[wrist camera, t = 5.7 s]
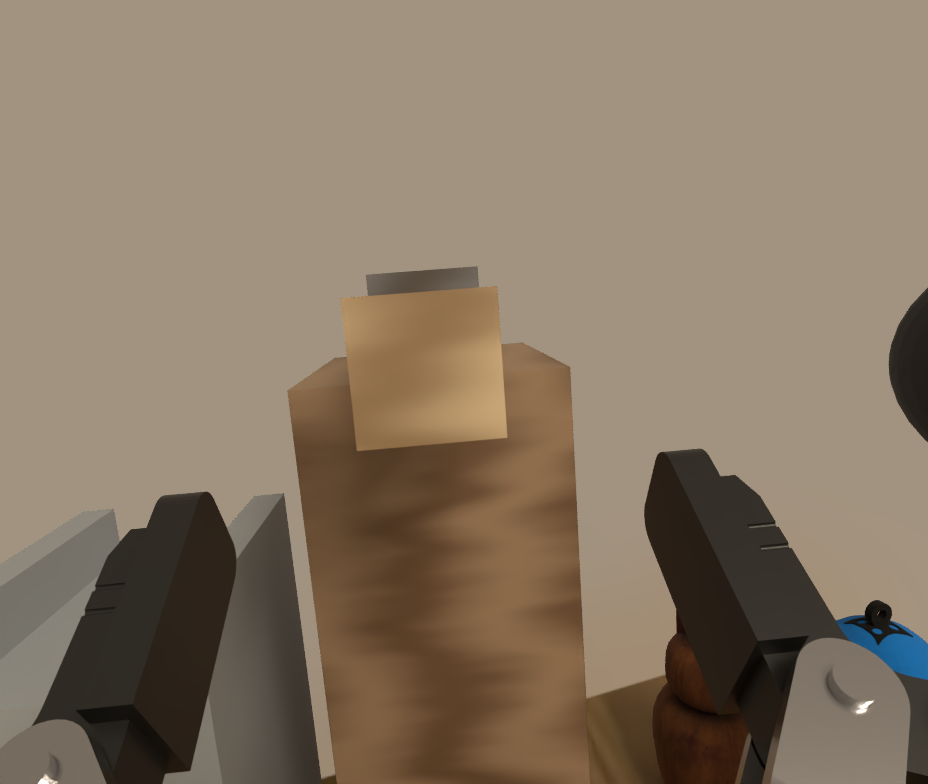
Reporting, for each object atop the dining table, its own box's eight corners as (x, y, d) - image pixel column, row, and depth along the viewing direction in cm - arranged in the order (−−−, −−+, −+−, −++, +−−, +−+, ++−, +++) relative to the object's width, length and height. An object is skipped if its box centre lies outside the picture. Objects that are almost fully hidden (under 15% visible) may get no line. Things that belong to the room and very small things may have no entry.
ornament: (876, 795, 38) (882, 649, 36) (778, 707, 46) (779, 584, 45) (986, 763, 40) (996, 622, 38) (872, 683, 48) (877, 565, 46)
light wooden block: (476, 347, 32) (470, 269, 31) (556, 433, 12) (545, 229, 12) (381, 355, 32) (373, 277, 31) (305, 455, 12) (280, 248, 11)
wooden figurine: (641, 768, 41) (634, 562, 39) (722, 756, 42) (720, 552, 40) (687, 858, 35) (683, 617, 32) (783, 842, 35) (785, 603, 33)
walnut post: (551, 828, 37) (522, 342, 33) (602, 1045, 27) (570, 367, 22) (389, 847, 37) (334, 358, 32) (373, 1077, 26) (287, 390, 21)
